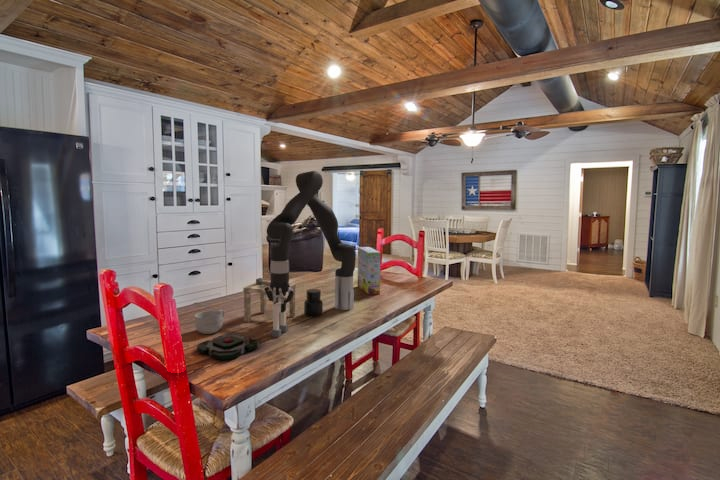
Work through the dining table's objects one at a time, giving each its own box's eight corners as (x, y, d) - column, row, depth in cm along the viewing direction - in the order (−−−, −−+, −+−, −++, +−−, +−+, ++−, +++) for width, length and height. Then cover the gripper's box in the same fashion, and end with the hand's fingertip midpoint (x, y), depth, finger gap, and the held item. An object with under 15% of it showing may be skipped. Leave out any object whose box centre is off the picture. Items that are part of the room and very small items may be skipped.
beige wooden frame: (295, 316, 184) (295, 278, 181) (279, 326, 168) (279, 285, 166) (262, 311, 189) (262, 274, 187) (243, 321, 174) (243, 281, 171)
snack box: (356, 286, 245) (357, 246, 242) (368, 285, 248) (370, 246, 245) (366, 295, 225) (368, 252, 222) (380, 294, 227) (382, 251, 224)
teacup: (206, 338, 153) (205, 319, 152) (189, 332, 159) (189, 314, 158) (234, 328, 165) (234, 310, 164) (217, 323, 171) (217, 306, 170)
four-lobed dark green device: (192, 352, 141) (191, 340, 140) (231, 337, 156) (231, 326, 155) (224, 365, 131) (224, 352, 131) (263, 347, 147) (263, 336, 146)
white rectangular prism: (280, 329, 165) (280, 300, 163) (288, 330, 164) (288, 300, 162) (271, 336, 157) (271, 305, 156) (278, 337, 156) (278, 306, 155)
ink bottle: (315, 310, 193) (315, 287, 192) (326, 314, 187) (327, 290, 185) (299, 314, 186) (299, 290, 185) (310, 319, 180) (311, 294, 179)
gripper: (299, 270, 159) (298, 310, 161) (269, 267, 163) (269, 307, 165) (290, 274, 152) (290, 316, 154) (260, 271, 156) (260, 312, 158)
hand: (279, 311), depth 160 cm, fingers closed on white rectangular prism, 2 cm apart
